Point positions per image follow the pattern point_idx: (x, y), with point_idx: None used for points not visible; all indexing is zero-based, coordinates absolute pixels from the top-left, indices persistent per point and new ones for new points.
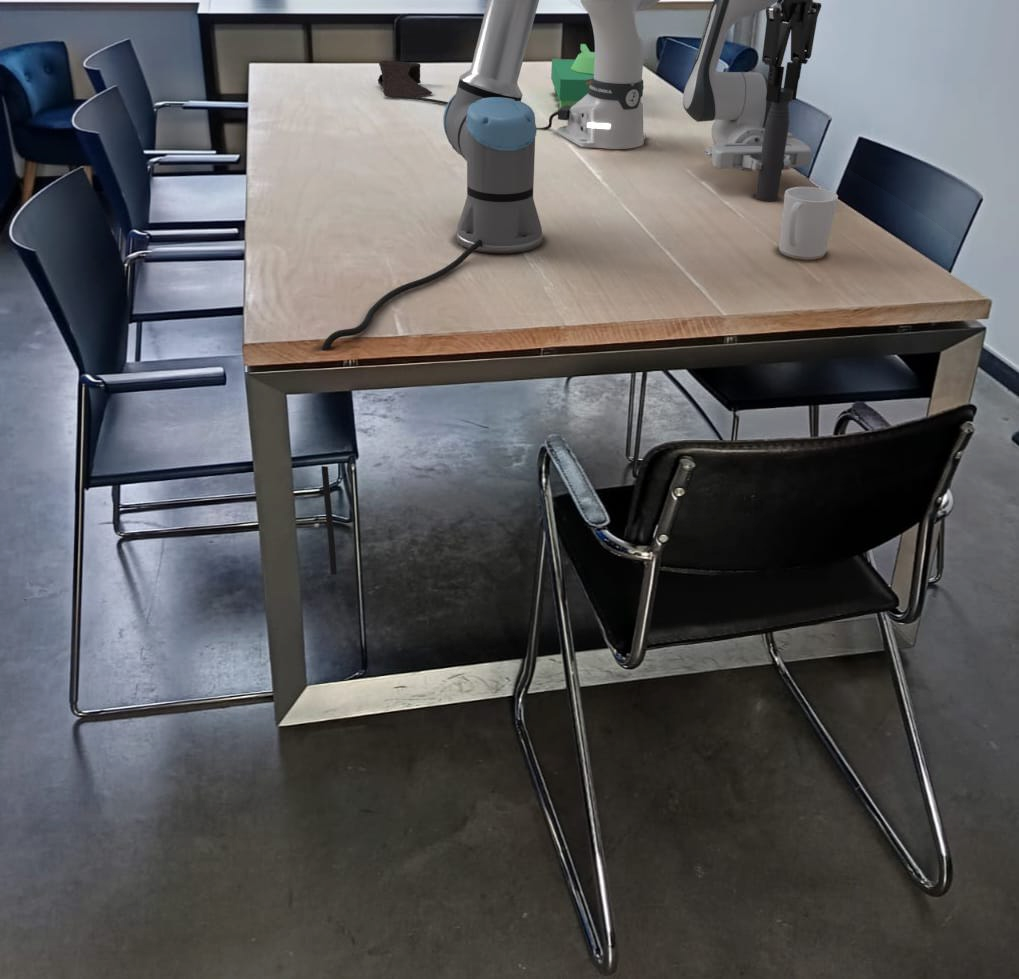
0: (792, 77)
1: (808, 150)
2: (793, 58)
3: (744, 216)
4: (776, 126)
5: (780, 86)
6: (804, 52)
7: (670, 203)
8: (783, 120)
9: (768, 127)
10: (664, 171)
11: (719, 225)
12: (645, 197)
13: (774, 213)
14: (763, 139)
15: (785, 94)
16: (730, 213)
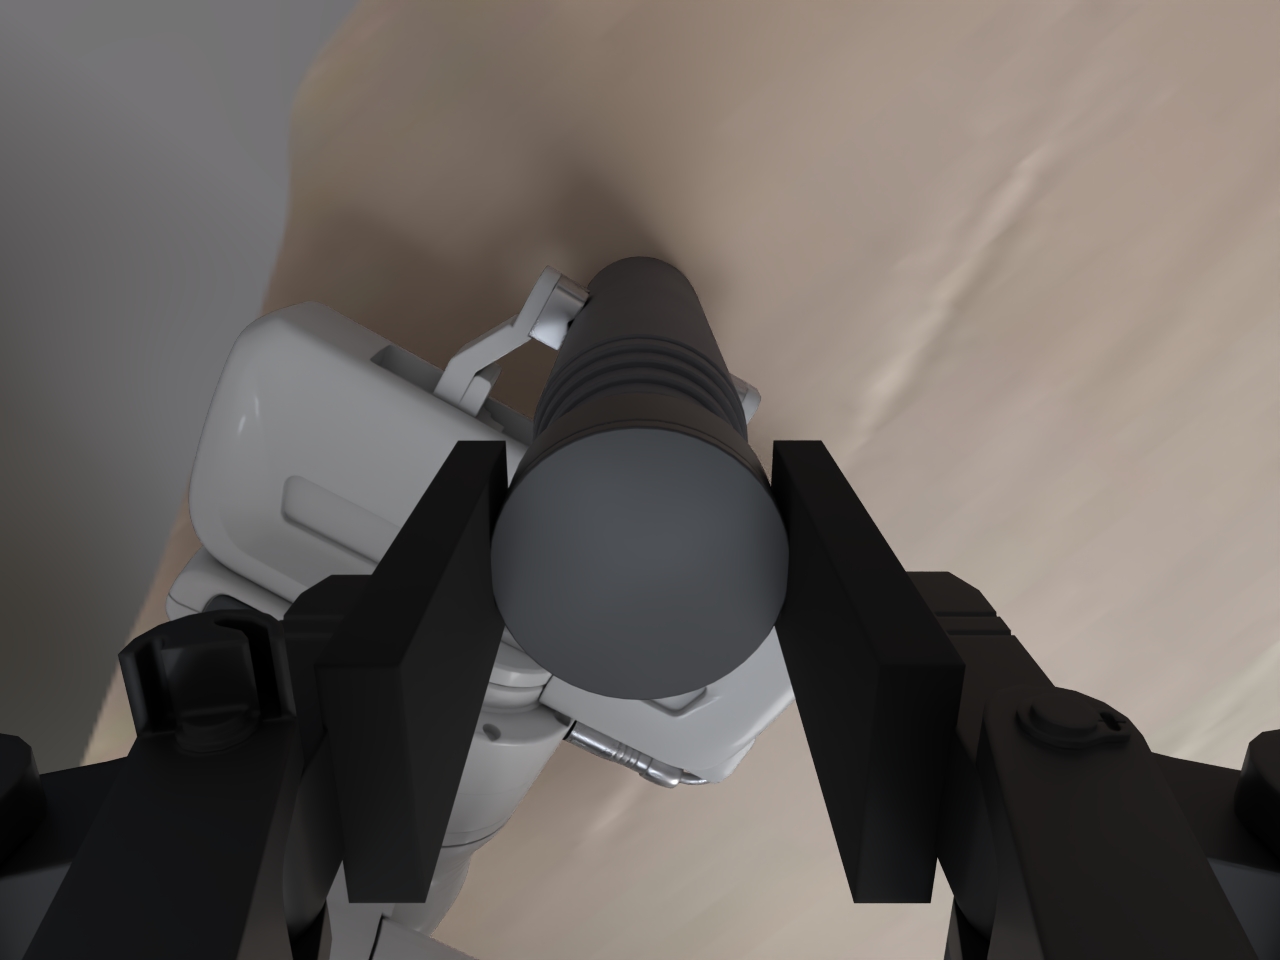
0: (460, 620)
1: (281, 327)
2: (316, 902)
3: (1015, 162)
4: (728, 376)
5: (835, 511)
6: (98, 850)
7: (1105, 537)
8: (678, 358)
9: None
10: (702, 869)
11: (1257, 133)
12: (1109, 661)
13: (838, 93)
14: None
15: (722, 440)
16: (1026, 246)
